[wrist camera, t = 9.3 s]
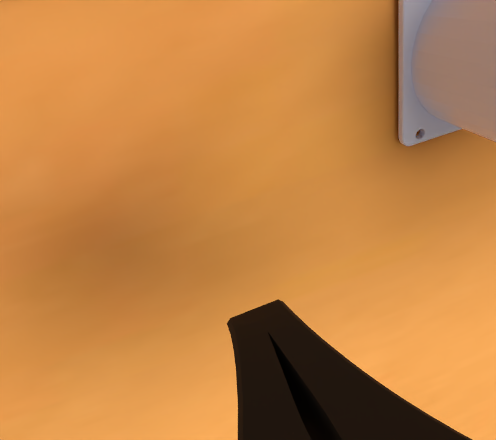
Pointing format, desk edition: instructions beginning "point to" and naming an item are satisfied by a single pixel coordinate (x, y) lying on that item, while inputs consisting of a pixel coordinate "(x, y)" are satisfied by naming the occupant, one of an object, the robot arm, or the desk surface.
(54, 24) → the desk surface
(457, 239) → the desk surface
